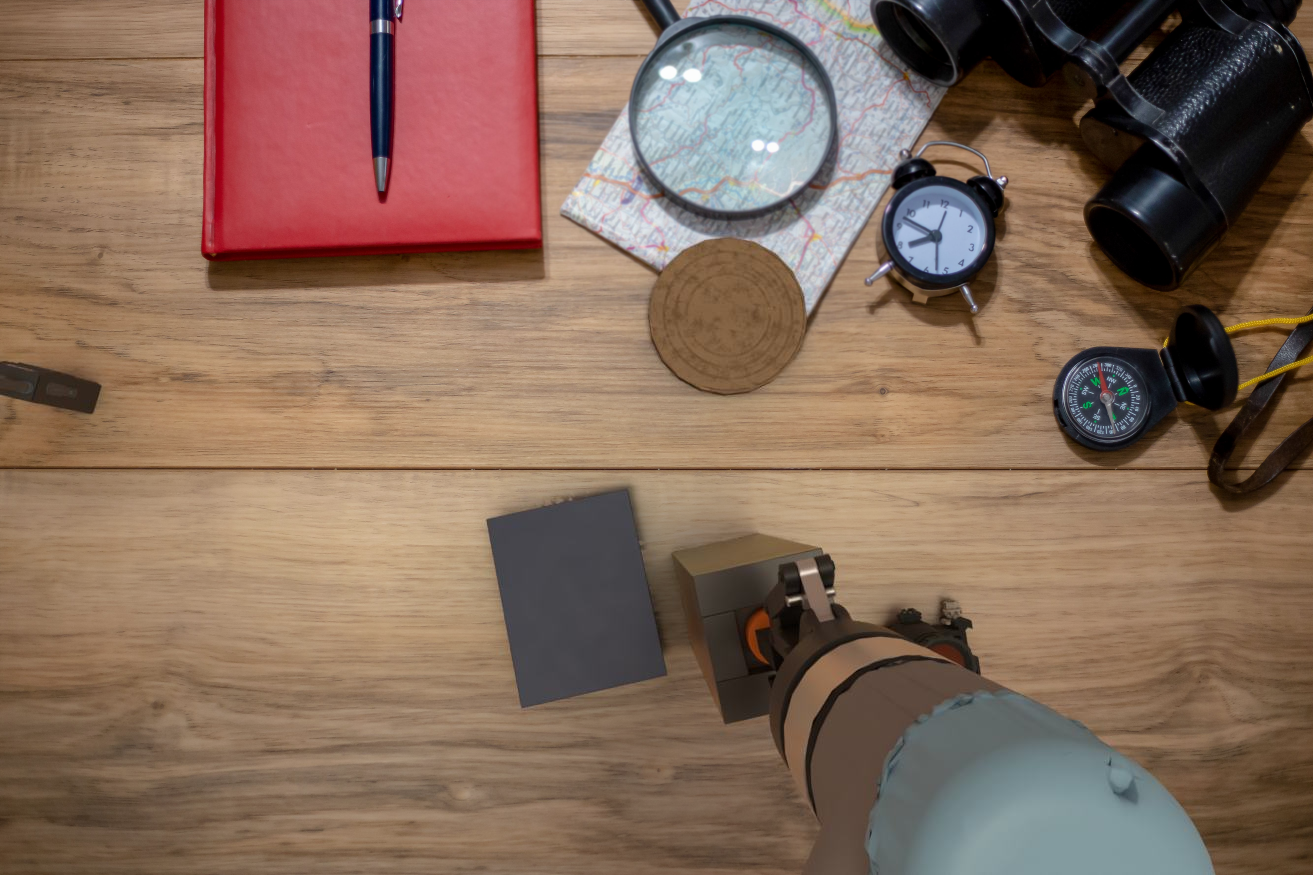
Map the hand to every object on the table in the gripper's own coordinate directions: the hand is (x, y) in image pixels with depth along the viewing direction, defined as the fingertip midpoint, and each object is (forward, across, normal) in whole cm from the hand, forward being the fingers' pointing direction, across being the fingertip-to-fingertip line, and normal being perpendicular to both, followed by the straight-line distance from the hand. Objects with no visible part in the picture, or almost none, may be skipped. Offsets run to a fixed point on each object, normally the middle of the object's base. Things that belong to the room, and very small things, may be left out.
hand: (777, 636), depth 57 cm
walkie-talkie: (+31, +33, +59) cm, 74 cm away
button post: (+31, 0, 0) cm, 31 cm away
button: (+3, 0, 0) cm, 3 cm away
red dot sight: (+31, -9, -17) cm, 37 cm away
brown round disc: (+31, +27, -6) cm, 42 cm away
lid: (+21, +3, +14) cm, 26 cm away
